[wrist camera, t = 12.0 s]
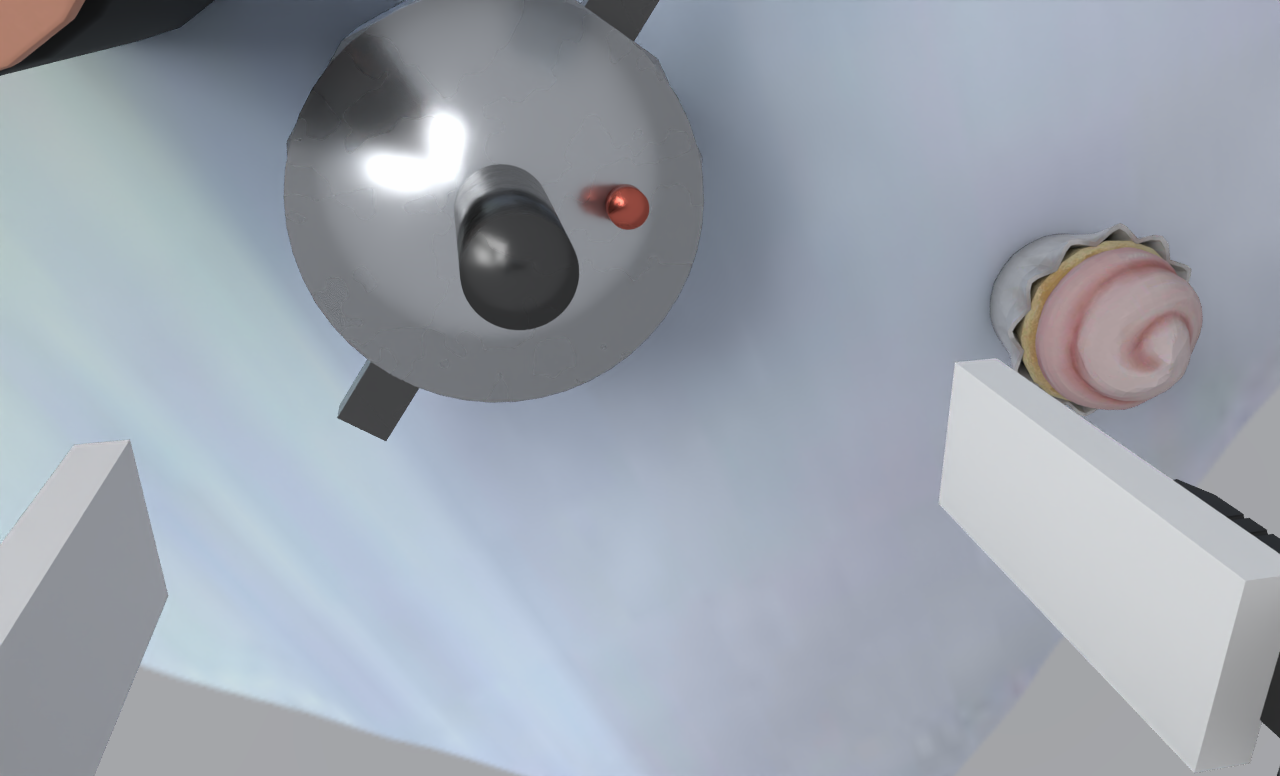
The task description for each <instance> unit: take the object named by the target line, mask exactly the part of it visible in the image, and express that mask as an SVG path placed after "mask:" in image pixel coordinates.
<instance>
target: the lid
mask: <svg viewBox="0 0 1280 776" xmlns="http://www.w3.org/2000/svg"><path fill="white" fill-rule="evenodd" d="M703 204H704V194H703V176H702V169H701V164H700V158H699V153H698V148H697V144H696V141H695V138H694V135H693V132H692V129H691V126H690V123H689V121H688V118H687V116H686V114H685V112H684V110H683V108H682V106H681V104H680V102H679V100H678V98H677V96H676V94H675V93H674V91H673V90H672V88H671V87H670V85H669V84H668V82H667V81H666V79H665V77H664V76H663V74H662V73H661V72H660V71H659V70H658V68H657V67H656V66H655V65H654V64H653V63H652V61H651V60H650V59H649V58H648V57H647V56H646V54H645V53H644V52H643V51H642V50H640V49H639V48H638V47H637V46H636V45H635V44H634V43H633V42H631V41H630V40H629V39H628V38H627V37H626V36H625V35H624V34H622V33H621V32H620V31H618V30H617V29H615V28H614V27H612V26H611V25H609V24H608V23H606V22H605V21H603V20H602V19H600V18H599V17H597V16H595V15H593V14H591V13H589V12H587V11H585V10H583V9H581V8H579V7H577V6H574V5H572V4H569V3H566V2H563V1H560V0H419V1H417V2H414V3H412V4H409V5H407V6H404V7H402V8H399V9H398V10H396V11H394V12H392V13H391V14H389V15H387V16H386V17H384V18H382V19H380V20H379V21H377V22H375V23H374V24H373V25H371V26H370V27H369V28H367V29H366V30H365V31H364V32H362V33H361V34H360V35H359V36H357V37H356V38H355V39H353V40H352V41H351V42H350V43H349V44H348V45H347V46H346V47H345V48H344V49H343V50H342V52H341V53H340V54H339V55H338V56H337V57H336V58H335V59H334V60H333V61H332V62H331V63H330V64H329V66H328V67H327V69H326V70H325V71H324V73H323V74H322V76H321V77H320V78H319V80H318V81H317V83H316V84H315V85H314V87H313V89H312V90H311V92H310V94H309V96H308V98H307V100H306V102H305V104H304V106H303V108H302V110H301V112H300V114H299V117H298V120H297V123H296V126H295V129H294V132H293V135H292V138H291V141H290V146H289V151H288V156H287V162H286V167H285V182H284V205H285V216H286V226H287V230H288V235H289V239H290V243H291V247H292V252H293V255H294V257H295V260H296V263H297V265H298V268H299V271H300V273H301V276H302V278H303V280H304V282H305V284H306V286H307V288H308V290H309V291H310V293H311V295H312V297H313V299H314V301H315V303H316V304H317V305H318V307H319V308H320V309H321V311H322V312H323V314H324V315H325V316H326V318H327V319H328V321H329V322H330V323H331V325H332V326H333V327H334V328H335V329H336V330H337V331H338V332H339V333H340V334H341V335H342V336H343V338H344V339H345V340H346V341H347V342H348V343H349V344H350V345H351V346H352V347H354V348H355V349H356V350H357V351H359V352H360V353H361V354H362V355H363V356H365V357H366V358H367V359H368V360H369V361H371V362H372V363H374V364H375V365H377V366H378V367H380V368H382V369H383V370H385V371H386V372H388V373H389V374H391V375H393V376H395V377H397V378H399V379H401V380H403V381H405V382H407V383H409V384H411V385H413V386H416V387H418V388H421V389H424V390H427V391H430V392H433V393H436V394H439V395H443V396H448V397H452V398H457V399H462V400H469V401H480V402H517V401H523V400H530V399H536V398H542V397H546V396H549V395H553V394H557V393H560V392H564V391H567V390H569V389H572V388H574V387H576V386H579V385H581V384H584V383H586V382H588V381H590V380H592V379H594V378H596V377H597V376H599V375H601V374H603V373H605V372H606V371H608V370H610V369H611V368H613V367H614V366H615V365H617V364H618V363H620V362H621V361H622V360H624V359H625V358H626V357H628V356H629V355H630V354H632V353H633V352H634V351H635V350H636V349H637V348H638V347H639V346H640V345H641V344H642V343H643V342H644V341H645V340H646V339H647V338H649V336H650V335H651V334H652V333H653V332H654V330H655V329H656V328H657V327H658V326H659V324H660V323H661V322H662V321H663V320H664V318H665V317H666V315H667V314H668V312H669V311H670V309H671V307H672V306H673V304H674V303H675V301H676V300H677V298H678V296H679V294H680V292H681V290H682V288H683V286H684V284H685V282H686V280H687V278H688V276H689V273H690V270H691V267H692V264H693V261H694V258H695V255H696V252H697V248H698V243H699V238H700V233H701V228H702V219H703Z"/></svg>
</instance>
